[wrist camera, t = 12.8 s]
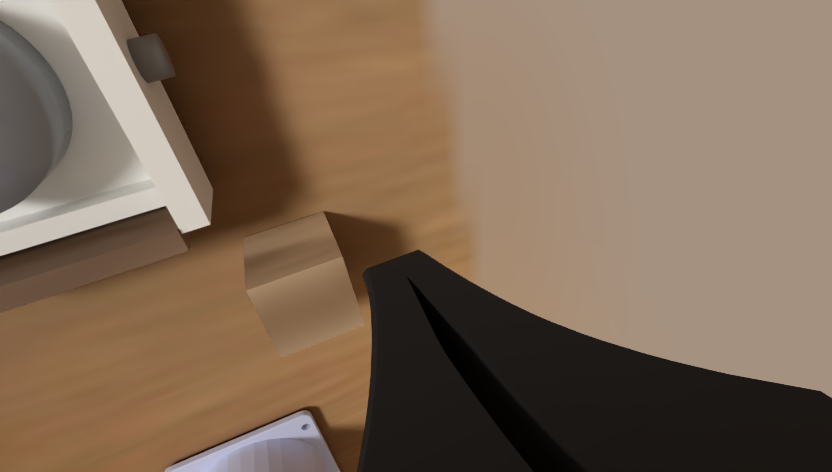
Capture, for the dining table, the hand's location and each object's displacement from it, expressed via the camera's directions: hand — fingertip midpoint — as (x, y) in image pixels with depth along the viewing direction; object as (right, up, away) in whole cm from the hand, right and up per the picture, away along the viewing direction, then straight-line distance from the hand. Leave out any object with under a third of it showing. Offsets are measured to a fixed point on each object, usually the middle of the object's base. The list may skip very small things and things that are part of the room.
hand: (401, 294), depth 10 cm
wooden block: (-5, 0, +10) cm, 12 cm away
